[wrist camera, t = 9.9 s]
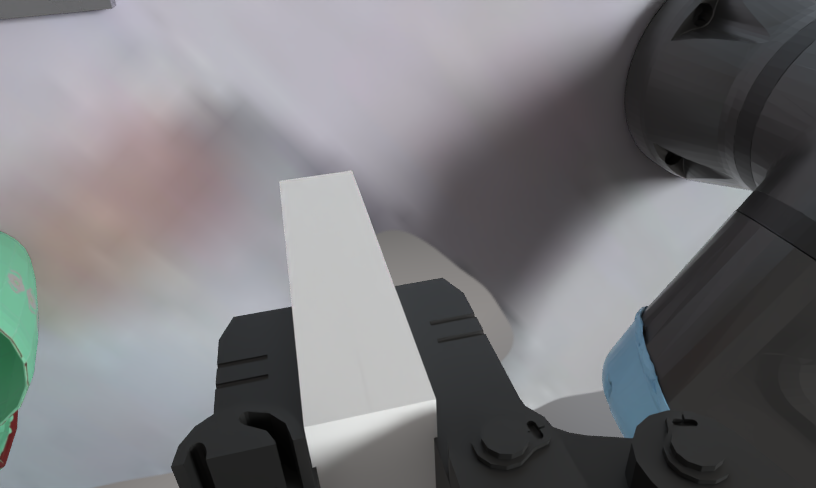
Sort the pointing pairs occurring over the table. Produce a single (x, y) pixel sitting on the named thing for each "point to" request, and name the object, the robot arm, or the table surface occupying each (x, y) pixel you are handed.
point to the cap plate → (49, 7)
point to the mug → (15, 335)
